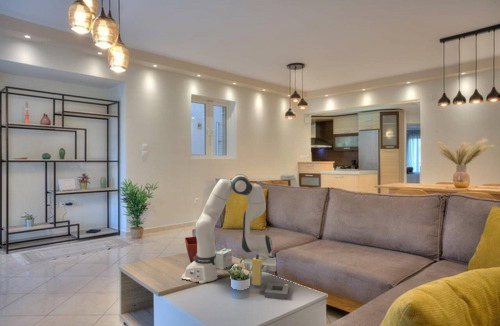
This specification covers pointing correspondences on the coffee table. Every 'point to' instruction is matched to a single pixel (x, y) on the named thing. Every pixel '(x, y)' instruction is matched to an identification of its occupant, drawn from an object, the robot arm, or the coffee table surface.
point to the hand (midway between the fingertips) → (256, 269)
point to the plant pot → (191, 247)
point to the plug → (256, 270)
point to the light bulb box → (224, 258)
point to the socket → (277, 291)
